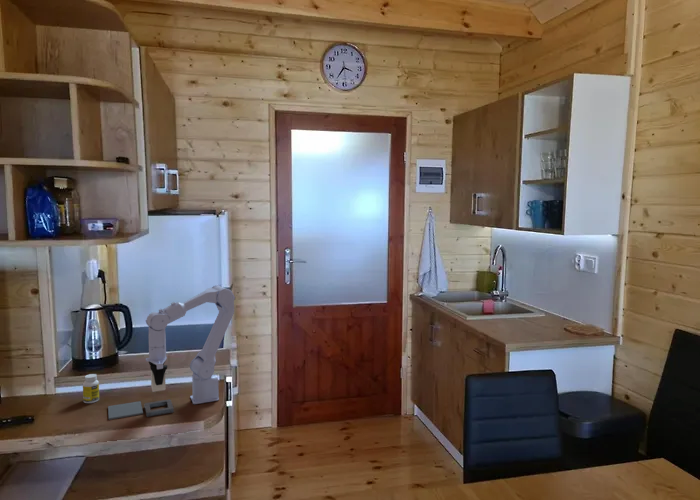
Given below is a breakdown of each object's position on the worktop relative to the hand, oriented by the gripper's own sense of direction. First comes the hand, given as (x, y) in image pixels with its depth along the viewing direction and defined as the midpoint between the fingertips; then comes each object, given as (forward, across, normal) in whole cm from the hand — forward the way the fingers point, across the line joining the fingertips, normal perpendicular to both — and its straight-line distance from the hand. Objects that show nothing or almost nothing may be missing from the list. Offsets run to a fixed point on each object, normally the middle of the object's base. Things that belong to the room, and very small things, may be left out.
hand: (158, 382), depth 179 cm
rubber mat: (+10, -4, -11) cm, 16 cm away
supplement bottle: (+11, -19, -22) cm, 31 cm away
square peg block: (+2, 0, 0) cm, 2 cm away
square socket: (+10, 0, 0) cm, 10 cm away
